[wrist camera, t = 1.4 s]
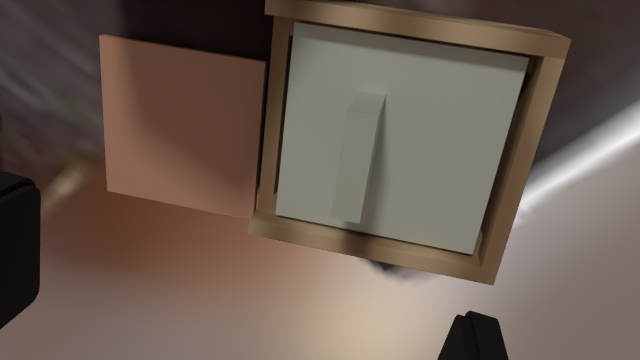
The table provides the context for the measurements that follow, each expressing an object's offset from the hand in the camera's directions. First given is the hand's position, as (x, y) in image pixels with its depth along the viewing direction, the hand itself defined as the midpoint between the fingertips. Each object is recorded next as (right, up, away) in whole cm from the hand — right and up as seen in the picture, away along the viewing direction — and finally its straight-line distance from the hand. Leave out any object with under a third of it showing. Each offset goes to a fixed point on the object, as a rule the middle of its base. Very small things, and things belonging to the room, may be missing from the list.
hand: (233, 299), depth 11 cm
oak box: (+7, +6, +23) cm, 25 cm away
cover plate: (+6, +5, +20) cm, 22 cm away
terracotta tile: (-8, +6, +26) cm, 28 cm away
